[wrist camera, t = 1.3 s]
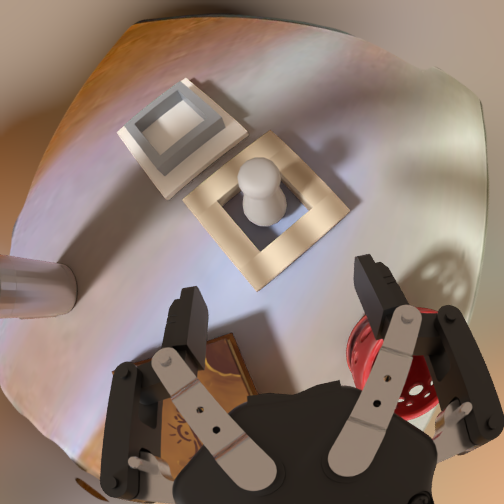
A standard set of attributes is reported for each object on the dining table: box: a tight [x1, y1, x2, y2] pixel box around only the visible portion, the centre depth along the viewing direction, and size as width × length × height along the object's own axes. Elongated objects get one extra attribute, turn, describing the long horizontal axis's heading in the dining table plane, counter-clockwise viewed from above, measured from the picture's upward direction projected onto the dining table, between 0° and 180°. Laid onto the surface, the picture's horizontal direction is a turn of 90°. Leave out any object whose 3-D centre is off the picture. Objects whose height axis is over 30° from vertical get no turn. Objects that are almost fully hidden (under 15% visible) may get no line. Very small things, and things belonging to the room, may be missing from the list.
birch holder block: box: [182, 130, 350, 291], centre depth 37 cm, size 16×16×3 cm
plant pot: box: [346, 307, 439, 421], centre depth 29 cm, size 13×13×12 cm
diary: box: [112, 333, 258, 479], centre depth 33 cm, size 23×19×6 cm
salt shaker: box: [238, 157, 287, 226], centre depth 32 cm, size 6×6×13 cm
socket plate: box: [117, 78, 249, 200], centre depth 40 cm, size 16×18×4 cm
